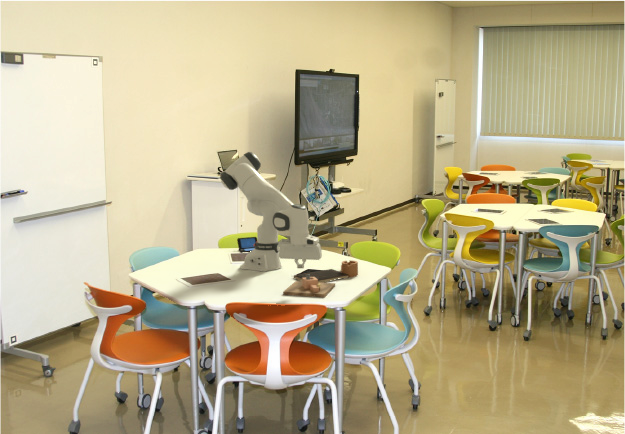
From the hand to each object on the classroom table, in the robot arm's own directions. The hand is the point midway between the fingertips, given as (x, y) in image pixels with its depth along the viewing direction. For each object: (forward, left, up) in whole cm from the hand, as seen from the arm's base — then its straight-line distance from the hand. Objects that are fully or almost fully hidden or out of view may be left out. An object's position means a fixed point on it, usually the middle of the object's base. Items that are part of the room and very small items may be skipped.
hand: (300, 268), depth 331 cm
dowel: (+9, 0, -10) cm, 13 cm away
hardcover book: (+2, +28, -13) cm, 31 cm away
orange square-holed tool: (+5, +2, -10) cm, 12 cm away
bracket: (+13, +42, -12) cm, 46 cm away
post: (+2, +5, -10) cm, 12 cm away
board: (+3, +4, -12) cm, 13 cm away
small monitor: (-58, +84, -12) cm, 103 cm away
